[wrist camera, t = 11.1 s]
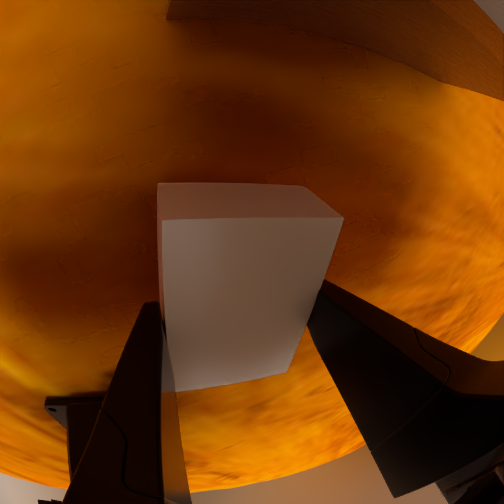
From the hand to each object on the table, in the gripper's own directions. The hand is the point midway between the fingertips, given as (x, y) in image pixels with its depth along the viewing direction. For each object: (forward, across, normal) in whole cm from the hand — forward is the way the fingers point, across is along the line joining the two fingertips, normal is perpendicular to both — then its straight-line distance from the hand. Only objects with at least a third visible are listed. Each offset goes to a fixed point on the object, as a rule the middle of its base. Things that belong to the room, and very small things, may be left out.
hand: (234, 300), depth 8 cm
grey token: (+1, 0, 0) cm, 1 cm away
